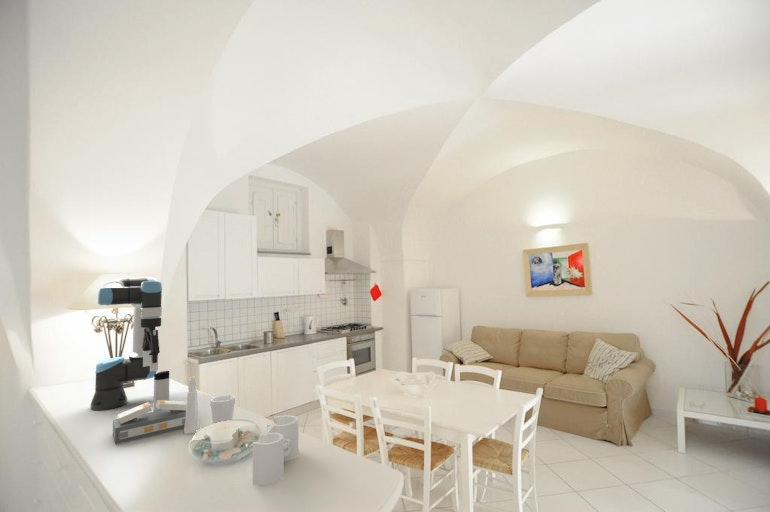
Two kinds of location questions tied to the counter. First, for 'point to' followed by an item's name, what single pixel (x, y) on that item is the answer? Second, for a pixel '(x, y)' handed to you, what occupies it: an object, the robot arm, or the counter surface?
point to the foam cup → (222, 408)
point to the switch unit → (148, 425)
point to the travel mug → (161, 387)
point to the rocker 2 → (171, 405)
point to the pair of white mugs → (275, 450)
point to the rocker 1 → (134, 412)
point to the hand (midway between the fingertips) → (150, 368)
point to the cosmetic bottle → (191, 408)
